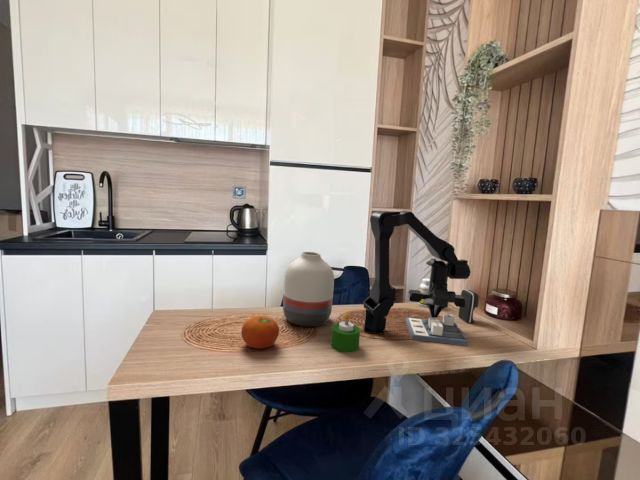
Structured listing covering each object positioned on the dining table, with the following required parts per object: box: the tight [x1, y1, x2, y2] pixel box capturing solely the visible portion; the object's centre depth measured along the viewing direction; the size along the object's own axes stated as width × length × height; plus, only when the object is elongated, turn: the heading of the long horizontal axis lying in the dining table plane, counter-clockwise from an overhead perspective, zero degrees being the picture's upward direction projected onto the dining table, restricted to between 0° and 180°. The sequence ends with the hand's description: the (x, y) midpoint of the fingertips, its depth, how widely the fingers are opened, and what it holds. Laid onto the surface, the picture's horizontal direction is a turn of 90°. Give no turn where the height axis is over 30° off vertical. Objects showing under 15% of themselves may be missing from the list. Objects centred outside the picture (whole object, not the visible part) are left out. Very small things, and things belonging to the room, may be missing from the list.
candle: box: [330, 313, 361, 354], centre depth 104 cm, size 8×8×10 cm
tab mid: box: [427, 316, 441, 329], centre depth 119 cm, size 3×3×3 cm
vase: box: [282, 251, 335, 328], centre depth 121 cm, size 17×17×24 cm
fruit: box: [241, 315, 280, 349], centre depth 101 cm, size 11×10×8 cm
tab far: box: [442, 313, 455, 326], centre depth 124 cm, size 3×3×3 cm
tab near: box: [431, 322, 443, 336], centre depth 115 cm, size 3×3×3 cm
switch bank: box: [405, 317, 468, 346], centre depth 120 cm, size 17×16×2 cm
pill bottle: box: [417, 278, 431, 308], centre depth 149 cm, size 6×6×11 cm
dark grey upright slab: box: [458, 289, 480, 324], centre depth 134 cm, size 7×4×11 cm, turn 10°
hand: (433, 321), depth 124 cm, fingers closed
